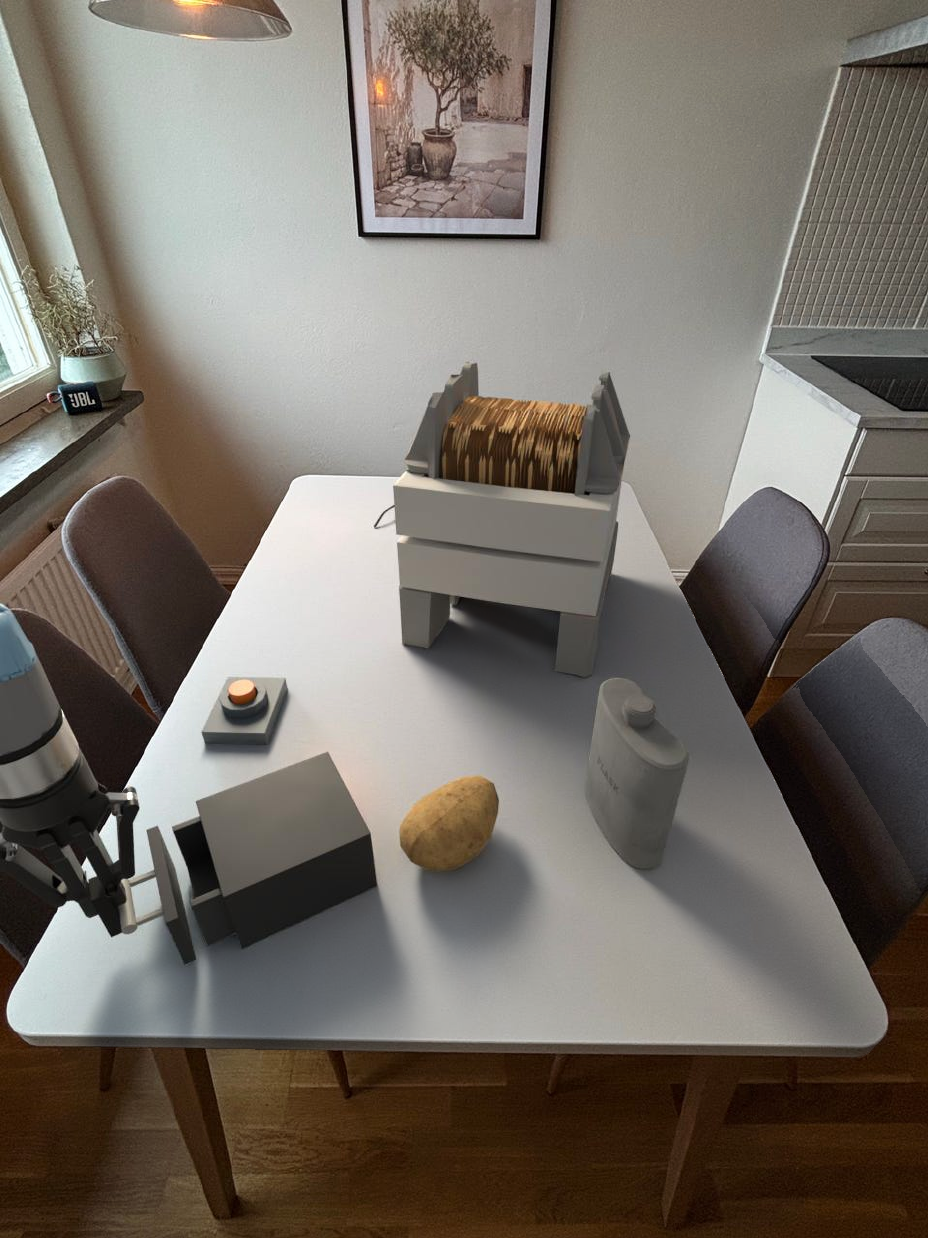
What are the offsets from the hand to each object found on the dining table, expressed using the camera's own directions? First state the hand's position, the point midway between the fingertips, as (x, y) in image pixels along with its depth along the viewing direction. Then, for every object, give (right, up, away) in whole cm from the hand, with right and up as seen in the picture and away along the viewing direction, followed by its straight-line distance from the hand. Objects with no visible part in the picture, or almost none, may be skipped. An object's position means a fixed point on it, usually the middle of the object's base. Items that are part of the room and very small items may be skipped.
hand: (117, 923), depth 71 cm
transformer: (+45, +34, +54) cm, 78 cm away
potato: (+35, +4, +12) cm, 37 cm away
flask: (+56, +6, +15) cm, 58 cm away
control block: (+4, +17, +31) cm, 36 cm away
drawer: (+9, +1, +5) cm, 10 cm away
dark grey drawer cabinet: (+16, +2, +9) cm, 19 cm away
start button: (+4, +20, +29) cm, 35 cm away
